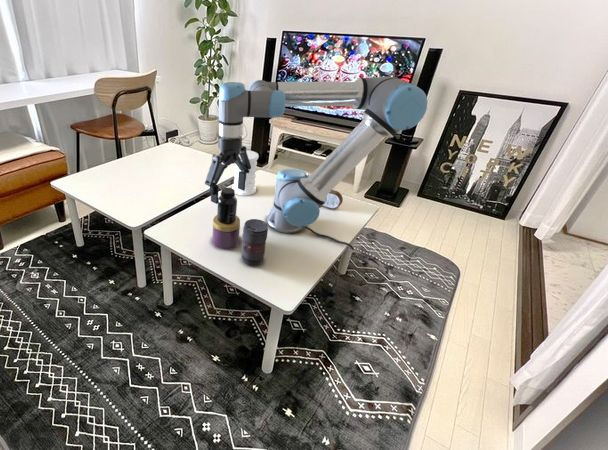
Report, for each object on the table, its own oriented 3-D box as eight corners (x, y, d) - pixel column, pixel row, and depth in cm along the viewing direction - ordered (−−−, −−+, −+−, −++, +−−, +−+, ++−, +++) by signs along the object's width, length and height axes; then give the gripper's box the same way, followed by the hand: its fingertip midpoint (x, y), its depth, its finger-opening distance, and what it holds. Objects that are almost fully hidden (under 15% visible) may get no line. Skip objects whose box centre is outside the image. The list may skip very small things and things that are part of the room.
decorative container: (230, 194, 161) (232, 158, 151) (233, 183, 171) (235, 149, 161) (255, 196, 160) (258, 160, 150) (256, 185, 169) (259, 150, 159)
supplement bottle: (234, 225, 121) (236, 196, 114) (215, 223, 122) (216, 194, 115) (237, 216, 126) (238, 187, 120) (218, 214, 127) (219, 185, 121)
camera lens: (258, 270, 115) (262, 234, 107) (236, 262, 119) (239, 226, 111) (267, 258, 121) (272, 222, 113) (247, 250, 124) (250, 215, 116)
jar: (241, 236, 132) (243, 216, 127) (235, 251, 124) (236, 230, 119) (216, 232, 135) (217, 212, 130) (209, 246, 127) (209, 226, 122)
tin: (340, 209, 150) (345, 192, 146) (338, 212, 148) (343, 194, 143) (307, 199, 157) (310, 183, 152) (305, 202, 155) (308, 186, 150)
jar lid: (242, 219, 128) (242, 215, 127) (236, 234, 120) (236, 229, 119) (217, 215, 130) (217, 211, 129) (209, 229, 122) (209, 224, 121)
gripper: (247, 124, 116) (243, 181, 128) (192, 142, 102) (194, 204, 113) (264, 129, 112) (259, 187, 123) (210, 148, 97) (210, 212, 109)
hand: (228, 195), depth 118 cm, fingers open, 13 cm apart
